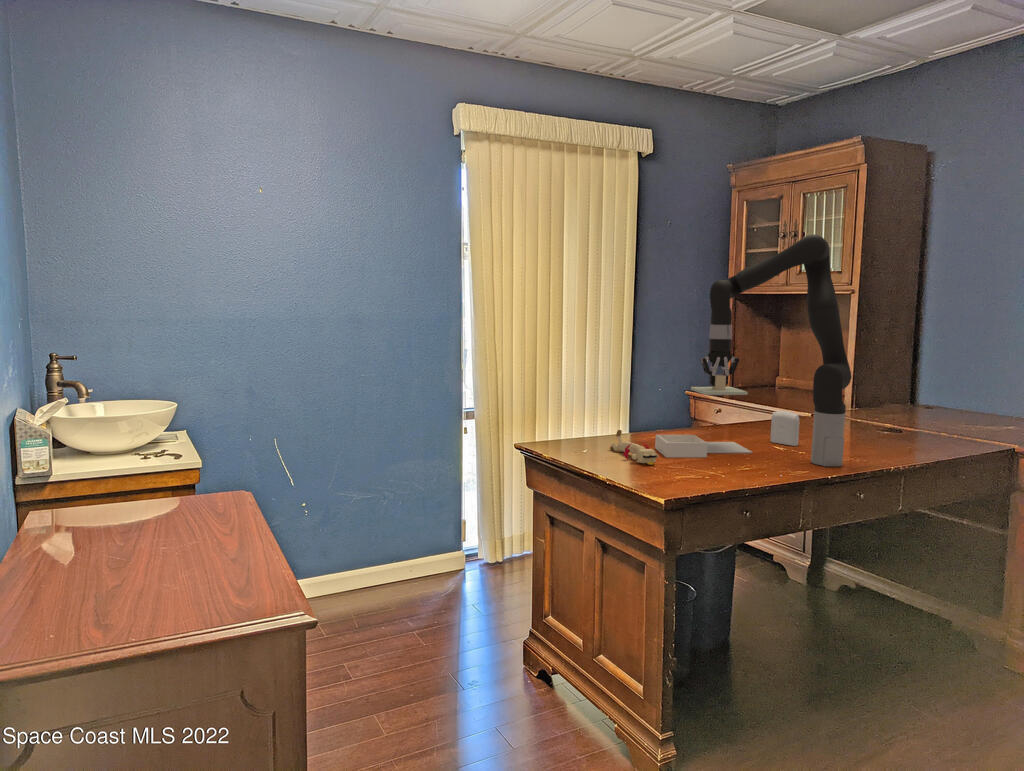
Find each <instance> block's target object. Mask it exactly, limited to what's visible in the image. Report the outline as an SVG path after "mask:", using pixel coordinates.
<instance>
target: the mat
mask: <svg viewBox="0 0 1024 771" xmlns="http://www.w3.org/2000/svg"><path fill="white" fill-rule="evenodd" d="M706 442H707V443H708V444H707V454H753V451H752V450H749V449H748V448H746V447H745V446H742V445H740V444H739V443H737V442H735V441H706Z"/></svg>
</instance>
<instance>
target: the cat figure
mask: <svg viewBox="0 0 1024 771" xmlns="http://www.w3.org/2000/svg"><path fill="white" fill-rule="evenodd" d="M622 432H623V431H622V429H617V431H616V438H617V440H618V442H617V443H616V444H615V443H613V442H611V444H610V446H609V450H610V451H611V452H612V451H613V452H616V451H618V452H623V453H622V454H623V456H624V458H625V459H626V460H627V461H628V460H629V461H630V459H629V458H630V457H629V453H630V454H631V459H632V460H635V463H638V464H639V463H640V464H646V465H654V463H656V461H657V458H659V453H657V451H656V449H652V448H650V447H649V446H648V445H647V444H646V443H644V442H641V444H643V445H644V446H642V445H639V444H638V443H635V442H630V441H623V438H622V436H621V435H622Z"/></svg>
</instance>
